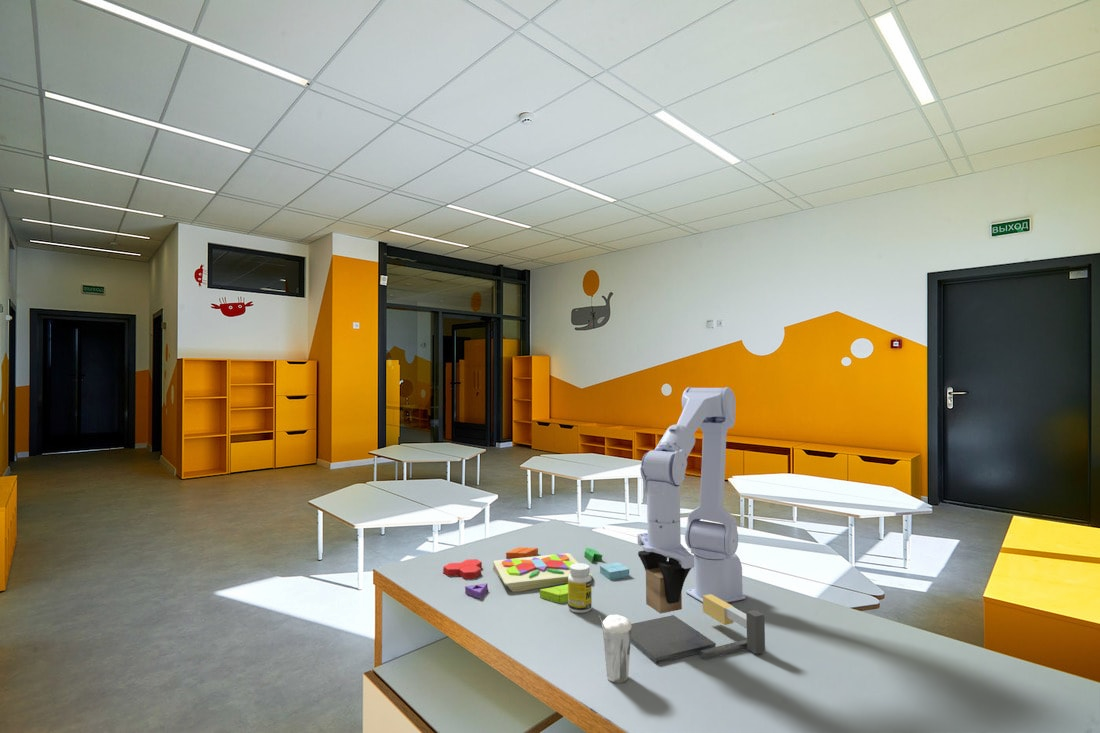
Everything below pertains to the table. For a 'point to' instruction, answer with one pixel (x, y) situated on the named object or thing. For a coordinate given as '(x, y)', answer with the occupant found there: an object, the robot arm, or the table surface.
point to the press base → (676, 640)
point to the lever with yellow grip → (738, 620)
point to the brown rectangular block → (658, 592)
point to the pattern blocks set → (532, 572)
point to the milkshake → (617, 647)
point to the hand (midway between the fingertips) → (664, 596)
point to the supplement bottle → (579, 588)
